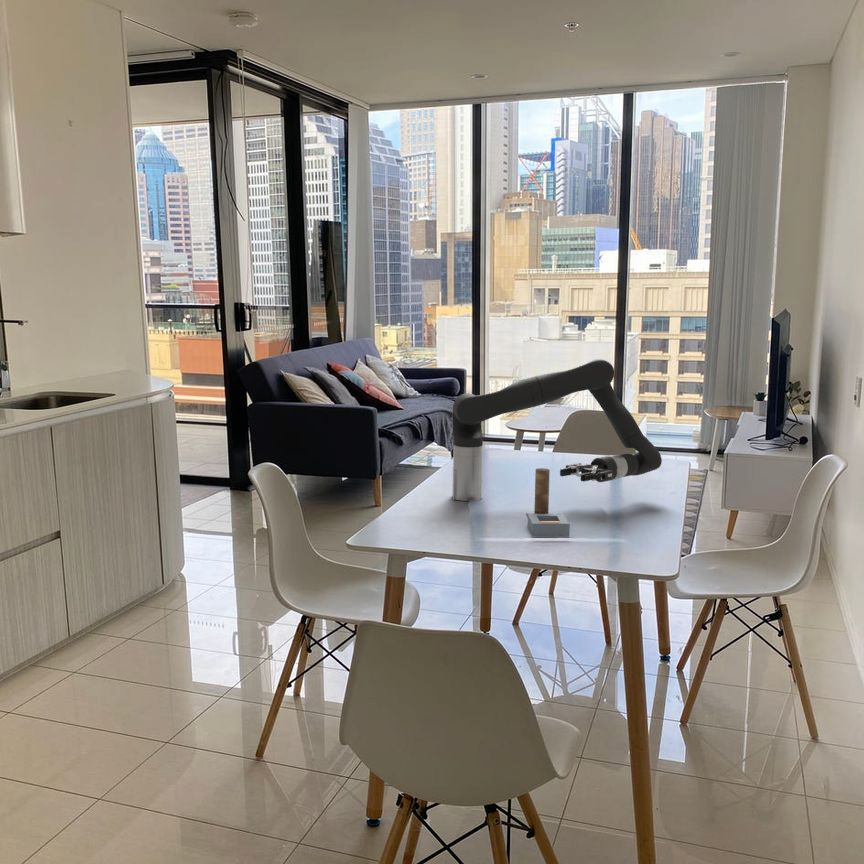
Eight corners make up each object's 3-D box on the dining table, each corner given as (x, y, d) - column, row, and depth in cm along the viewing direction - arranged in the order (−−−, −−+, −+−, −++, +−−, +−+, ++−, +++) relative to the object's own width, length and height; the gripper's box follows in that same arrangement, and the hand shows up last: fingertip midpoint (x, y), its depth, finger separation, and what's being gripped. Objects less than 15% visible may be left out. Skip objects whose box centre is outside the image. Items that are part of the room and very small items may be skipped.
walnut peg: (535, 519, 247) (536, 471, 244) (533, 515, 251) (534, 468, 248) (549, 519, 247) (550, 471, 244) (547, 515, 251) (548, 468, 248)
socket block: (531, 537, 231) (532, 522, 230) (527, 527, 241) (527, 512, 240) (569, 538, 231) (569, 522, 230) (563, 527, 241) (563, 513, 240)
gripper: (592, 452, 268) (554, 459, 258) (627, 459, 256) (589, 466, 247) (591, 476, 269) (553, 483, 260) (626, 484, 258) (588, 492, 248)
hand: (571, 475), depth 253 cm, fingers open, 8 cm apart
